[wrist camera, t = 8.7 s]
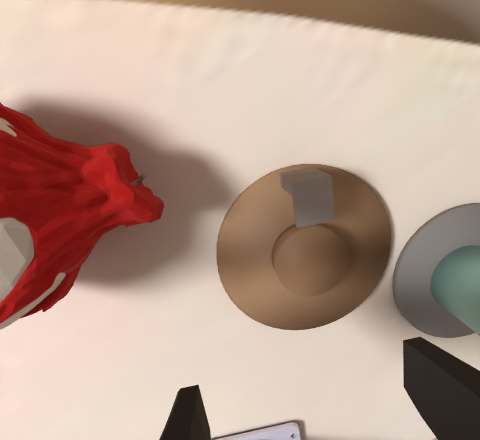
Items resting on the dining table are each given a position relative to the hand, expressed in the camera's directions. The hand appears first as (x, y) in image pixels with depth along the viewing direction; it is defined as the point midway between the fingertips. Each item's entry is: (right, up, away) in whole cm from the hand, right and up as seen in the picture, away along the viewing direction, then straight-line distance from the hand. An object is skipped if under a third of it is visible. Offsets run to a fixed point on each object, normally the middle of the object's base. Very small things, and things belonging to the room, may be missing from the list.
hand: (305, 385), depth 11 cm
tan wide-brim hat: (+2, +4, +10) cm, 11 cm away
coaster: (+13, +2, +12) cm, 18 cm away
